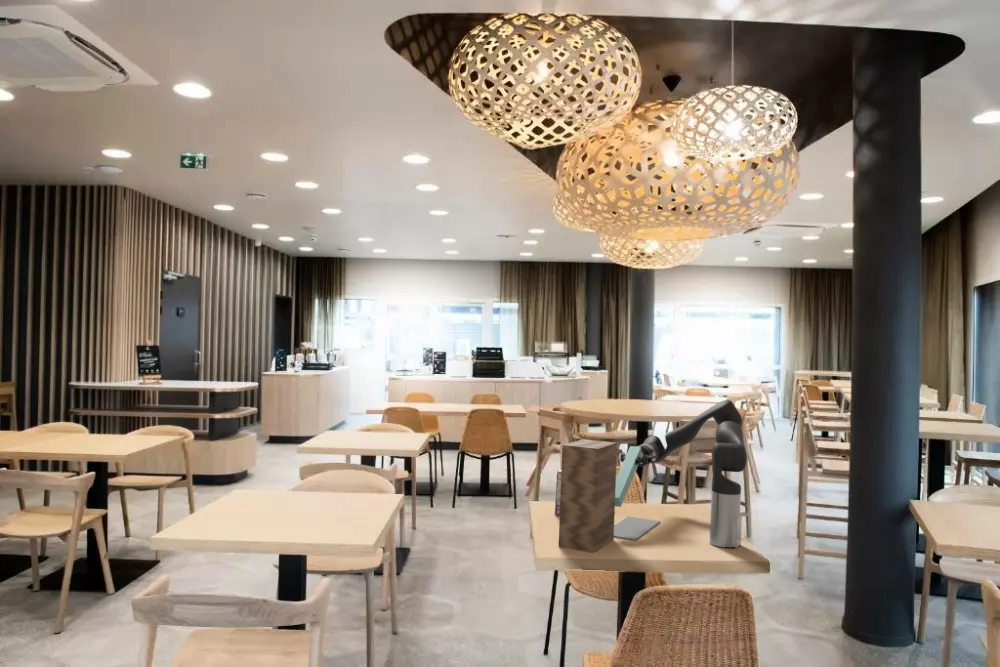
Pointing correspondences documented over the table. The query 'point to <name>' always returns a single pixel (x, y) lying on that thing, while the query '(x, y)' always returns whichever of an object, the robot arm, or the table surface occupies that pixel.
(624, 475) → the teal bar
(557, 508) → the candy bar box
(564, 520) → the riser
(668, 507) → the table surface
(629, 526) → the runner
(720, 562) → the table surface
